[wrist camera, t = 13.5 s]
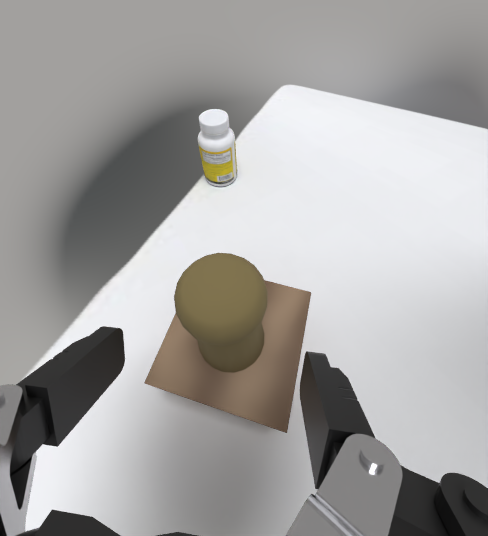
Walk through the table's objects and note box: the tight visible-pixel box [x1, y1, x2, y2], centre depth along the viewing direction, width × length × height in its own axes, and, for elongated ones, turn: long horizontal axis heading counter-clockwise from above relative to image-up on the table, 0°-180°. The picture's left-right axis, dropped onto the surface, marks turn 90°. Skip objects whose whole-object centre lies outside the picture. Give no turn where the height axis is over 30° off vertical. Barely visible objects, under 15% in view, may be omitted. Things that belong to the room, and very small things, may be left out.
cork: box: [174, 253, 268, 373], centre depth 17 cm, size 6×6×11 cm
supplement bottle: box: [198, 109, 237, 186], centre depth 37 cm, size 5×5×10 cm
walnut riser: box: [145, 280, 311, 433], centre depth 24 cm, size 12×12×6 cm
